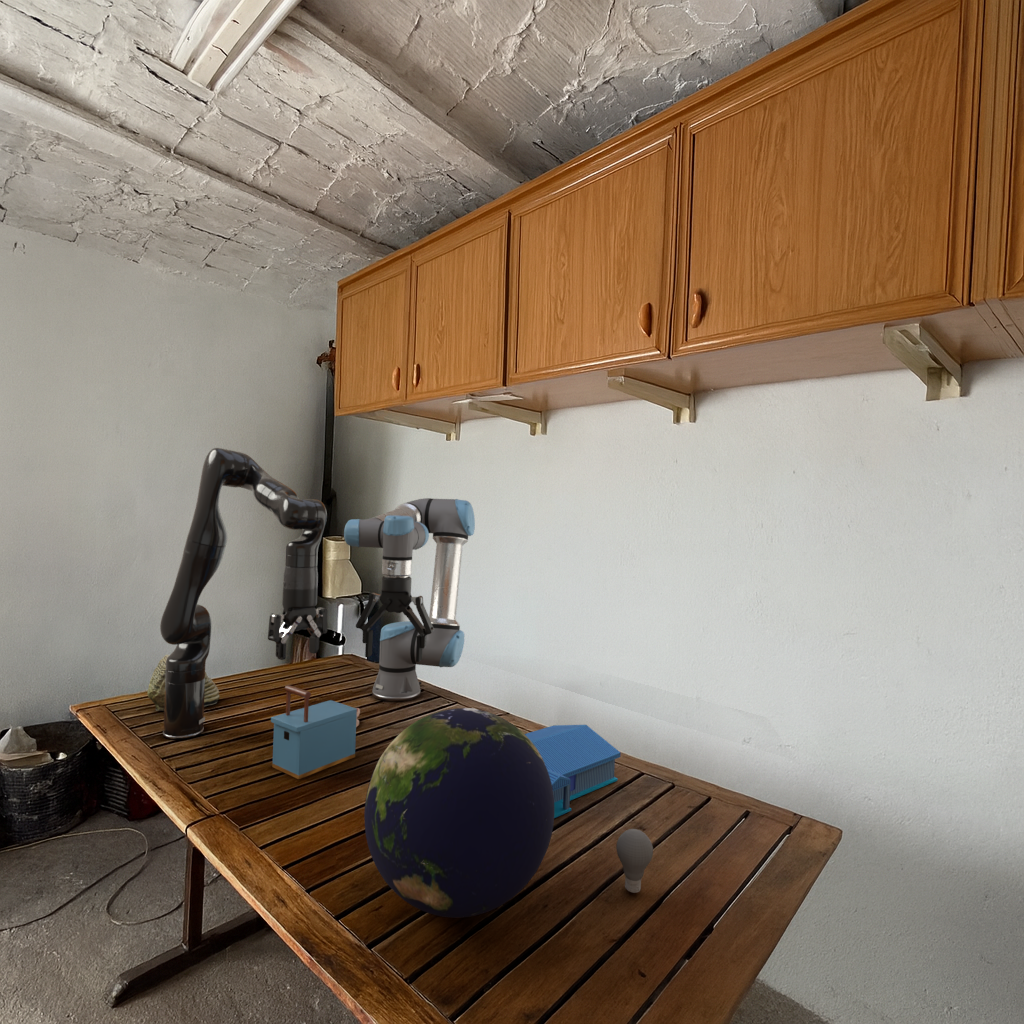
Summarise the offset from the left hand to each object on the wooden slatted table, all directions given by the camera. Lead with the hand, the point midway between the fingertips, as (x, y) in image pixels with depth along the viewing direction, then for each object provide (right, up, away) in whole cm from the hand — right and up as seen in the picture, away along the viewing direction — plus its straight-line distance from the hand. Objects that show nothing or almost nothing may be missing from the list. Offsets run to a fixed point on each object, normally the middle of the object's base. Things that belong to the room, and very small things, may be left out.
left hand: (297, 655), depth 145 cm
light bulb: (+69, -30, -40) cm, 86 cm away
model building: (+53, -29, -4) cm, 61 cm away
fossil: (-47, -24, +39) cm, 66 cm away
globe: (+40, -29, -44) cm, 67 cm away
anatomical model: (0, -26, +29) cm, 39 cm away
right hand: (+19, -5, +17) cm, 26 cm away
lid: (+2, -16, +5) cm, 17 cm away
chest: (+2, -27, +5) cm, 27 cm away
